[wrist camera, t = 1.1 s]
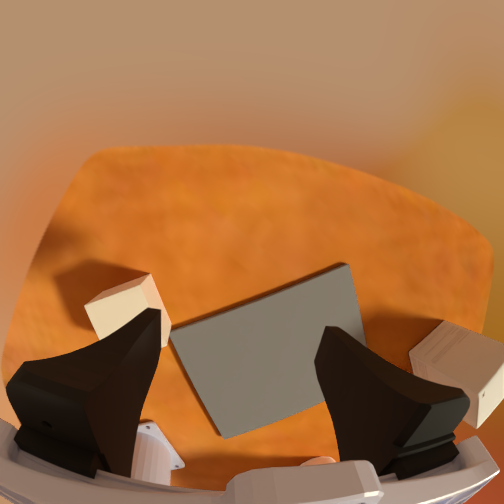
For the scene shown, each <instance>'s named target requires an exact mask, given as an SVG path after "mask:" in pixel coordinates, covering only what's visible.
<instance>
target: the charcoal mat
mask: <svg viewBox="0 0 504 504" xmlns="http://www.w3.org/2000/svg"><path fill="white" fill-rule="evenodd" d="M325 326H338V327H339V328H341V329H343V330H344V331H345V332H347V333H348V334H350V335H351V336H352V337H354V338H355V339H356V340H357V341H359V342H360V343H361V344H363V345H364V346H365V347H367V345H366V339H365V334H364V329H363V324H362V319H361V314H360V310H359V305H358V300H357V296H356V292H355V287H354V283H353V279H352V275H351V271H350V267H349V264H343V265H341V266H339V267H336V268H334V269H331V270H329V271H327V272H324V273H322V274H319V275H317V276H315V277H312V278H310V279H307V280H305V281H302V282H300V283H297V284H295V285H292V286H290V287H287V288H285V289H282V290H280V291H277V292H275V293H272V294H269V295H267V296H264V297H262V298H259V299H256V300H254V301H251V302H248V303H246V304H243V305H240V306H238V307H235V308H232V309H230V310H227V311H224V312H221V313H219V314H216V315H213V316H210V317H208V318H205V319H202V320H199V321H196V322H193V323H191V324H188V325H185V326H182V327H179V328H176V329H173V330H170V334H169V336H170V338H171V340H172V342H173V345H174V347H175V349H176V351H177V353H178V355H179V357H180V359H181V361H182V363H183V365H184V367H185V369H186V371H187V373H188V375H189V377H190V379H191V381H192V383H193V385H194V387H195V389H196V391H197V393H198V394H199V396H200V398H201V400H202V402H203V404H204V405H205V407H206V409H207V411H208V413H209V414H210V416H211V418H212V420H213V421H214V423H215V425H216V427H217V428H218V430H219V432H220V433H221V435H222V437H223V438H224V439H227V438H231V437H234V436H237V435H240V434H243V433H246V432H249V431H252V430H255V429H258V428H261V427H263V426H266V425H269V424H271V423H274V422H277V421H279V420H282V419H284V418H287V417H289V416H292V415H294V414H296V413H299V412H301V411H303V410H306V409H308V408H310V407H313V406H315V405H317V404H319V403H321V402H323V401H325V399H324V396H323V393H322V391H321V388H320V385H319V382H318V379H317V375H316V370H315V365H314V359H315V356H316V353H317V350H318V347H319V344H320V341H321V338H322V335H323V332H324V329H325Z"/></svg>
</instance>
